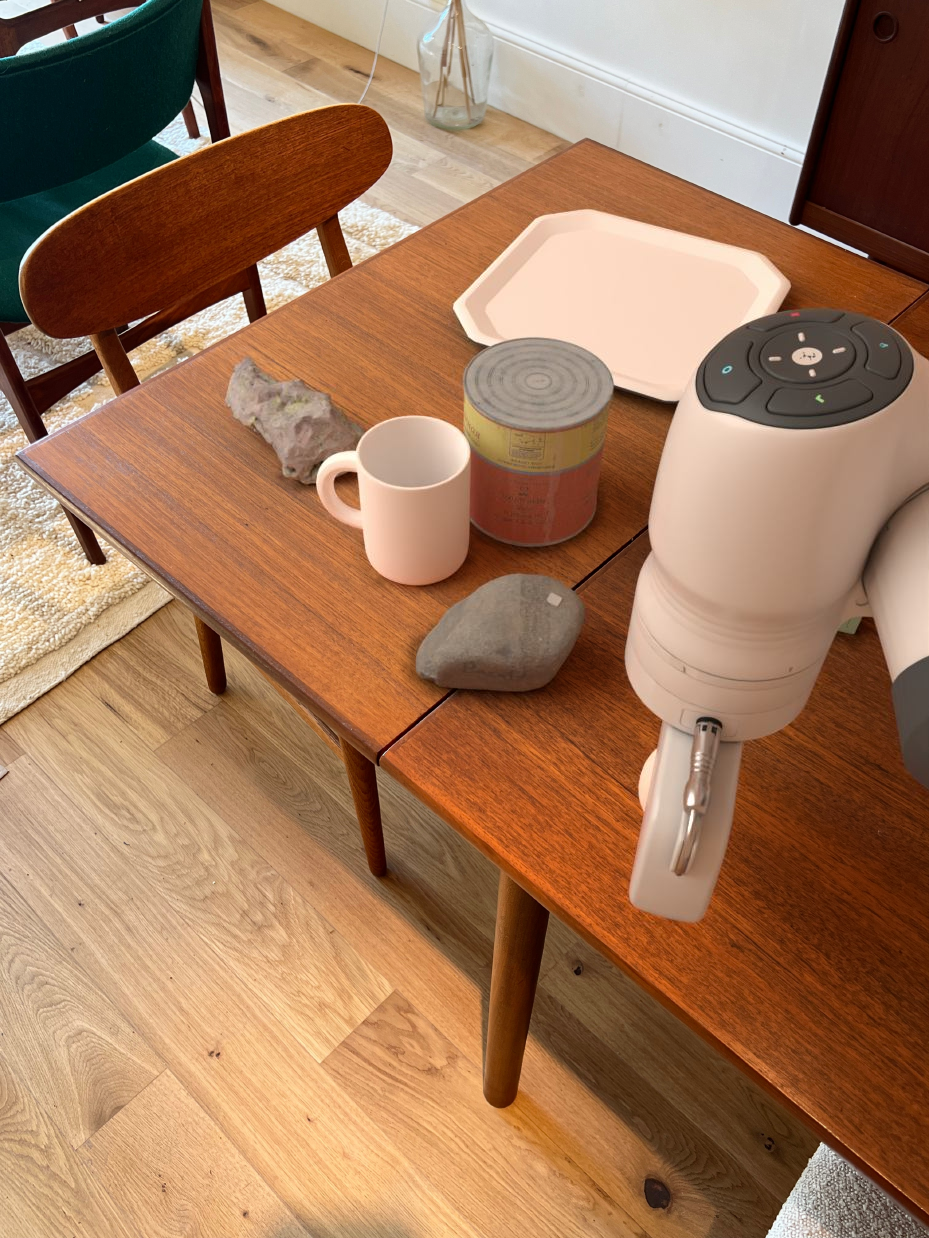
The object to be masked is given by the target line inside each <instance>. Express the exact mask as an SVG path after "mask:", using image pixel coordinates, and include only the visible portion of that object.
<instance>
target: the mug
mask: <svg viewBox="0 0 929 1238" xmlns="http://www.w3.org/2000/svg"><path fill="white" fill-rule="evenodd" d="M470 464H471V451H470V446H469V443H468V441H467V439H466V437H465V436H464V432H462V430H460V429H459V428H458V427H456V426H455V425H453V424H452V423H450V422H448V421H445V420H443V419H440V418H437V417H432V416H426V415H403V416H396V417H392V418H390V419H386V420H383V421H381V422H378V423H377V424H375V425H373V426H372V427H371V428H370V429H368V430H366V433H365V434H364V435H363V436H362V438H361V439H360V441H359V443H358V446H357V449H356V451H345V452H340V453H337V454H334V455H332V456H331V457H329V458H328V459H327V460H326V461H325V462H324V463H323V464H322V465H321V467H320V468H319V471H318V474H317V481H316V483H315V484H316V491H317V494H318V497H319V499H320V502H321V503H322V505H323V506H324V508H325V509H326V510H327V512H328V513H329V514H330V515H331V516H332V517H333V518H334V519H336V520H338V521H339V522H341V523H343V524H345V525H347V526H348V527H349V526H350V527H353V528H355V529H358V530H362V534H363V541H364V542H363V543H364V548H365V554H366V556H367V560H368V562H369V563H370V565H371V566H372V568H373V569H374V570H375V571H377V573H378V574H379V575H380V576H382V577H384V578H385V579H387V580H389V581H392V582H394V583H397V584H401V585H408V586H426V585H431V584H435V583H438V582H441V581H444V580H445V579H447V578H449V577H450V576H452V575H453V574H454V573H456V572H457V571H458V570H459V569H460V567H461V566H462V565H463V564H464V562H465V560H466V559H467V555H468V551H469V547H470V546H469V544H470V523H471V521H470ZM344 471H348V472H352V473H357V480H358V481H357V483H358V492H359V504H360V509H358V508H357V509H356V508H354V507H352V506H349V505H347V504H346V503H345V502H343V501H342V500H341V499H340V497H339V496H338V494H337V493H336V490H335V483H334V482H335V479H336V477H335V476H336V475H337V474H338V473H340V472H344Z"/></svg>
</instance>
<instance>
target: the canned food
mask: <svg viewBox="0 0 929 1238" xmlns="http://www.w3.org/2000/svg"><path fill="white" fill-rule="evenodd" d="M462 388H463V435H464V436H465V437H466V439H467V441H468V443H469V446H470V451H471V464H470V523H471V524H472V525H473V526H474V527H475V528H476V529H477V530H478V531H480V532H481V533H483V534H484V535H486V536H488V537H489V538H491V539H493V540H496V541H498V542H501V543H504V544H508V545H511V546H512V545H513V546H517V547H527V548H534V547H535V548H536V547H537V548H539V547H547V546H552V545H557V544H561V543H563V542H566V541H568V540H571V539H572V538H574V537H576V536H577V535H579V534H581V532H583V531H584V530H585V529H586V528H587V527H588V526H589V524H590V523H591V522H592V520H593V518H594V516H595V513H596V510H597V496H598V489H599V482H600V476H601V468H602V461H603V457H604V456H603V454H604V450H605V449H604V448H605V442H606V434H607V428H608V421H609V414H610V407H611V401H612V398H613V395H614V389H615V388H614V382H613V378H612V375H611V373H610V371H609V369H608V368H607V366H606V365H605V364H604V363H603V362H602V361H601V360H600V359H599V358H598V357H597V356H595V355H594V354H593V353H591V352H589V351H588V350H586V349H584V348H582V347H580V346H577V345H575V344H572V343H569V342H565V341H561V340H557V339H550V338H539V337H528V338H518V339H512V340H507V341H503V342H500V343H497V344H494V345H492V346H490V347H488V348H485V349H482V350H481V351H480V352H478V353H477V354H475V356H473V357H472V358H471V360H470V361H469V362H468V364H467V365H466V366H465V369H464V372H463V375H462Z"/></svg>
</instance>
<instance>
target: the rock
mask: <svg viewBox="0 0 929 1238" xmlns="http://www.w3.org/2000/svg"><path fill="white" fill-rule="evenodd" d="M224 404H225V405H226V406H227V407H228V408H229V409H231V412H232V417H233V418H234V419H235V420H238V421H239V422H241V424H242V425H243V426H246V427H247V426H248V427H250V428H251V429H252V430H253V431H254V433H257V434H261V436H262V437H263V439H264V440H265V441H266V443H267V444H268V445H269V446H272V448H273V449H274V452H275V453H276V455H277V457H278V460H279V461H280V462H281V464H282V465H281V466H282V469H281V470H282V475H283V476H284V477H285V478H286V479H289V480H295V481H299V482H301V483H302V484H304V485H309V484H316V481H317V474H318V471H319V468H320V467H321V465H322V464H323V463H324V462H325V461H326V460H327V459H328V458H329V457H331V456H332V455H334V454H337V453H340V452H345V451H356V449H357V446H358V443H359V441H360V439H361V438H362V436H363V435H364V434H365V433H366V432H367V430H365V429H364V427H363V426H361V425H360V424H359V423H357V422H355V421H352V420H351V419H350V418H349V417H347V415H346V414H345V412H344V410H343V408H340V407H337V406H336V405H335V403H334V402H333V401H332V397H331V393H330V392H317V391H315V390H313V389H311V388H310V387H309V386H307V384H306V383H305V381H304V380H303V379H301V378H294V379H293V380H290V381H289V380H288V381H287V380H286V381H280V380H277V379H276V378H274V377H273V376H272V374H267V373H265V372H263V371H262V369H261V368H260V367H258V365H257V364H256V363H255V361H254V360H253V359H252V358H251V357H250V356H249V355H246V356H245V357H244V358H243V360H242V361H241V362H240V363H237V364H235V365H234V368H233V372H232V374H231V377H230V379H229V382H228V387H227V390H226V395H225V399H224ZM348 472H349V471H344V472H340V473H338V474H337V475H336V476H335V478H338V477H340V476H343V475H345V474H347V473H348Z"/></svg>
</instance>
